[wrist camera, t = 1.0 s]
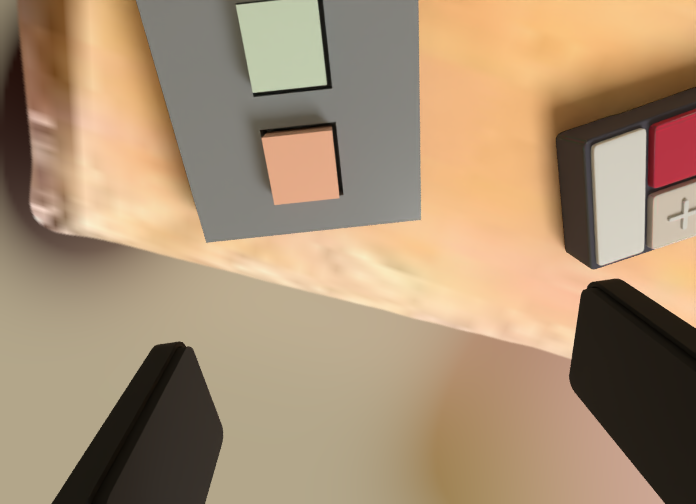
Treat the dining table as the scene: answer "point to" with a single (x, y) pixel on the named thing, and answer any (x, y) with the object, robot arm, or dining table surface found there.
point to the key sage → (282, 44)
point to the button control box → (629, 181)
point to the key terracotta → (301, 164)
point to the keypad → (292, 114)
